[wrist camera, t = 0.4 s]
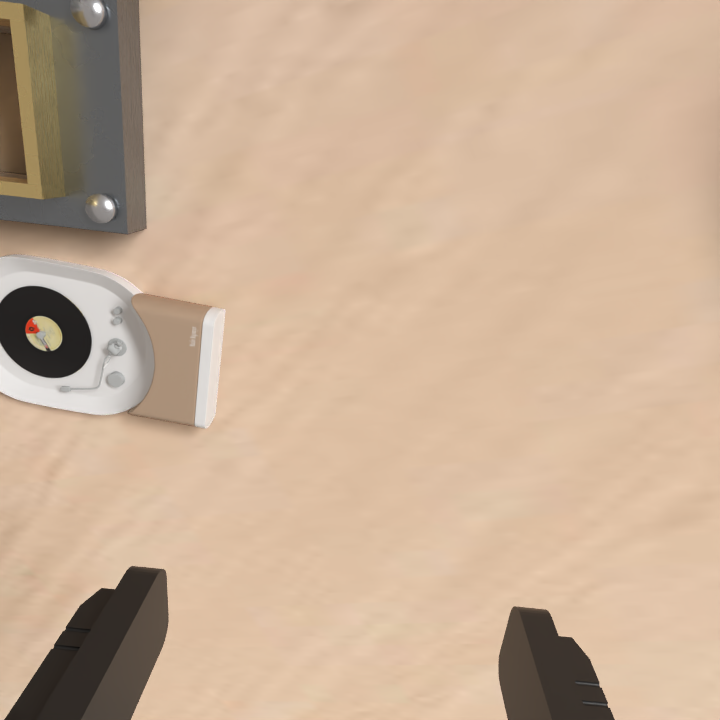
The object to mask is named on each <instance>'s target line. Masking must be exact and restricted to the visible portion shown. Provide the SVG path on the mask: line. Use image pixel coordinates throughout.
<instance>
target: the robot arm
mask: <svg viewBox="0 0 720 720" xmlns="http://www.w3.org/2000/svg"><path fill="white" fill-rule="evenodd" d="M167 628H168V597H167V576H166V571H165V570H164V569H156V568H146V567H136V566H131V567H130V568H129V569H128V570H127V571H126V573H125V574H124V576H123V578H122V579H121V581H120V583H119V584H118V586H117V587H116V589H105V588H101V589H100V590H99V591H97V592H96V593H95V594H94V595H93V596H91V597H90V598H89V599H88V600H86V601H85V602H84V603H83V604H82V605H80V607H79V608H78V610H77V611H76V613H75V614H74V616H73V617H72V619H71V620H70V622H69V623H68V625H67V626H66V630H65V631H63V632H62V634H61V635H60V637H59V638H58V640H57V641H56V643H55V644H54V648H53V649H51V650H50V652H49V653H48V655H47V656H46V658H45V659H44V661H43V662H42V664H41V665H40V667H39V669H38V670H37V672H36V673H35V675H34V676H33V678H32V679H31V681H30V682H29V684H28V685H27V687H26V688H25V690H24V691H23V693H22V694H21V696H20V697H19V699H18V700H17V702H16V703H15V705H14V706H13V708H12V709H11V711H10V712H9V714H8V715H7V717H6V718H5V719H4V720H131V717H132V715H133V713H134V711H135V708H136V706H137V704H138V702H139V699H140V697H141V695H142V692H143V690H144V688H145V686H146V683H147V681H148V679H149V677H150V674H151V672H152V670H153V667H154V665H155V663H156V661H157V658H158V656H159V654H160V652H161V649H162V647H163V644H164V641H165V637H166V633H167ZM499 681H500V686H501V691H502V695H503V700H504V704H505V709H506V713H507V717H508V720H615V719H614V717H613V715H612V712H611V710H610V708H608V705H607V703H608V702H607V700H606V698H605V695H604V693H603V690H602V688H600V686H599V681H598V678H597V676H596V673H595V671H594V669H593V666H592V664H591V661H590V659H589V658H588V657H587V655H586V654H585V653H584V652H583V650H582V649H581V648H580V647H579V646H578V644H577V643H576V642H575V641H574V640H573V638H571V637H561V636H558V633H557V631H556V628H555V625H554V622H553V620H552V617H551V615H550V613H549V612H548V611H547V610H544V609H534V608H524V607H513V608H512V610H511V613H510V616H509V620H508V624H507V628H506V631H505V635H504V639H503V643H502V646H501V650H500V655H499Z"/></svg>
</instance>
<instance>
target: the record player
mask: <svg viewBox="0 0 720 720" xmlns="http://www.w3.org/2000/svg"><path fill="white" fill-rule="evenodd" d="M225 311H226V310H225V309H222V308H216V307H211V306H206V305H201V304H196V303H190V302H185V301H180V300H175V299H169V298H164V297H159V296H154V295H149V294H143V293H142V292H141V291H140V290H139V289H138V288H137V287H136V286H135V285H133V284H132V283H131V282H129V281H128V280H126V279H124V278H123V277H121V276H119V275H117V274H115V273H113V272H110V271H107V270H103V269H100V268H95V267H91V266H86V265H81V264H76V263H71V262H66V261H60V260H55V259H49V258H43V257H38V256H31V255H22V254H13V255H6V256H2V257H0V392H2V393H4V394H5V395H7V396H10V397H12V398H14V399H17V400H20V401H24V402H28V403H33V404H38V405H43V406H48V407H53V408H58V409H64V410H69V411H75V412H81V413H87V414H94V415H111V414H117V413H121V412H124V411H126V410H129V409H130V410H129V412H128V414H131V415H136V416H142V417H147V418H152V419H158V420H163V421H168V422H174V423H179V424H185V425H190V426H195V427H200V428H208V427H209V425H210V424H211V422H212V421H213V419H214V417H215V414H216V404H217V393H218V383H219V373H220V362H221V352H222V342H223V332H224V321H225Z"/></svg>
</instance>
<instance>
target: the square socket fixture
mask: <svg viewBox="0 0 720 720" xmlns="http://www.w3.org/2000/svg"><path fill="white" fill-rule="evenodd" d="M0 33H8V34H11V35H12V44H13V54H14V63H15V72H16V81H17V90H18V99H19V108H20V117H21V126H22V135H23V144H24V154H25V163H26V172H27V174H18V173H9V172H1V171H0V219H1V220H10V221H18V222H27V223H36V224H44V225H53V226H62V227H70V228H79V229H88V230H96V231H105V232H114V233H122V234H130V233H133V232H136V231H140V230H143V229H146V202H145V173H144V145H143V116H142V87H141V58H140V30H139V1H138V0H0Z"/></svg>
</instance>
